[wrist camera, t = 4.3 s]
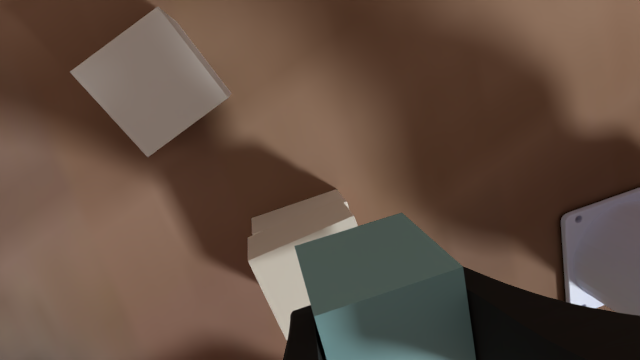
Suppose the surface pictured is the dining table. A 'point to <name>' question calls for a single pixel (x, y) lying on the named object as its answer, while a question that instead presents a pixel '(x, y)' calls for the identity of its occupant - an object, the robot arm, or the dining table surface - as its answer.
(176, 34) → the grey block
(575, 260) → the robot arm
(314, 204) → the tower base
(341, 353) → the teal cube
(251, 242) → the tower top
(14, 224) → the dining table surface
